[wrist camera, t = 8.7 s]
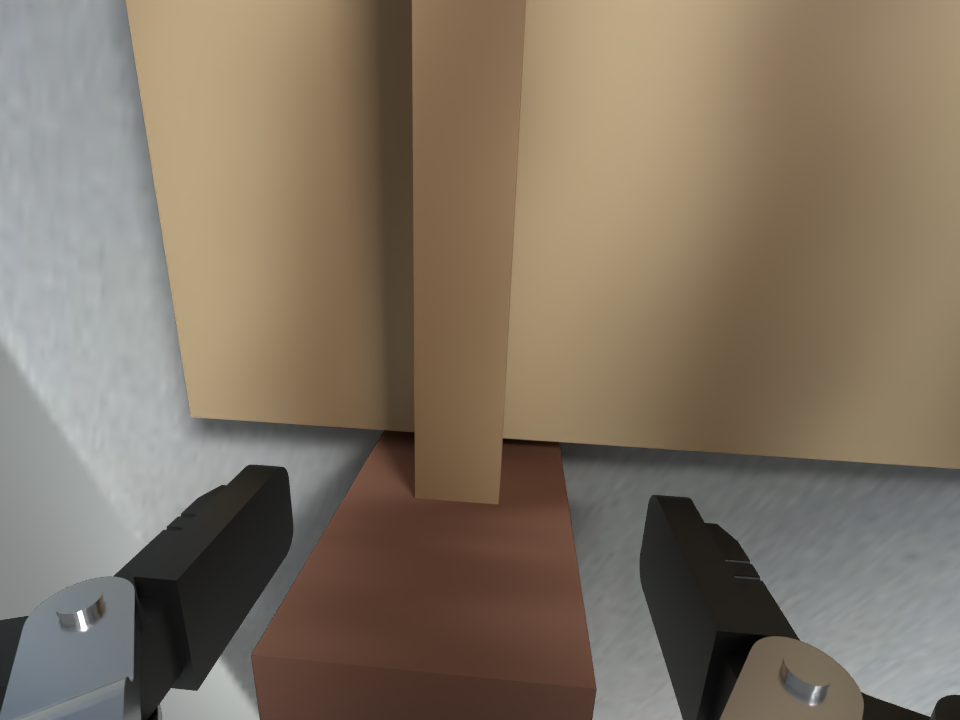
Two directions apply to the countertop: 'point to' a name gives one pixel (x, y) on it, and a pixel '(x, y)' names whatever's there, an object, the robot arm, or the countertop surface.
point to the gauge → (446, 455)
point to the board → (581, 220)
